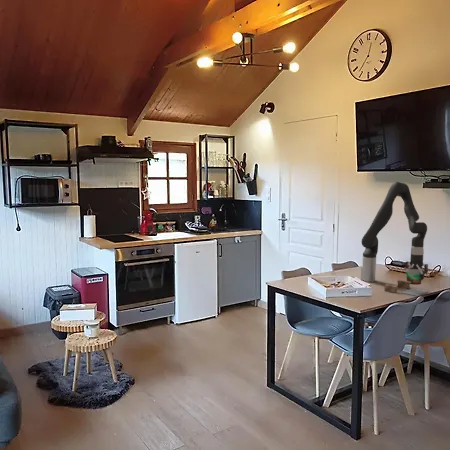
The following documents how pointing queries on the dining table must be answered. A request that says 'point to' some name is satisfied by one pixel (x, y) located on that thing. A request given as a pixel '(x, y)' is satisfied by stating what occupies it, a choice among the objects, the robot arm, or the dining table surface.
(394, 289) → the clamp blocks
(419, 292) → the slate pad
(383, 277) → the dining table surface
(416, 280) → the food container
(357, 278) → the dining table surface
